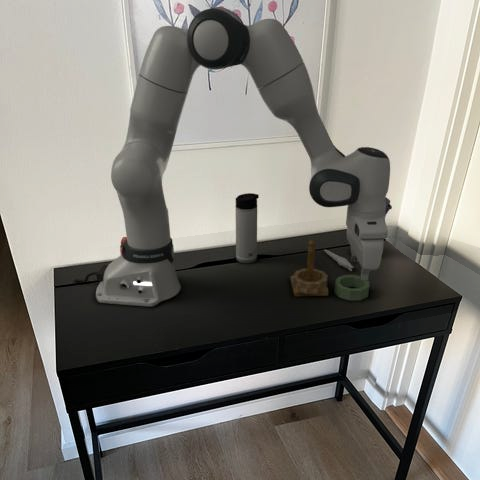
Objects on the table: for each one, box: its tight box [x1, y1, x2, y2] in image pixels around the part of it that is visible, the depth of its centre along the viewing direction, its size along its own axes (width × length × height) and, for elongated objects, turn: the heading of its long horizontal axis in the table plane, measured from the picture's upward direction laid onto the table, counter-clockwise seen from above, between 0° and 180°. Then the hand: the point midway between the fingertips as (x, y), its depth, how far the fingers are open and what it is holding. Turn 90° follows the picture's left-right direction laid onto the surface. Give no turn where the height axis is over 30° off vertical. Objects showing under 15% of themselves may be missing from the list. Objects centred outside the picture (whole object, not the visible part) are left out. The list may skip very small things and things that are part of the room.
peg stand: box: [289, 239, 330, 297], centre depth 137 cm, size 9×9×14 cm
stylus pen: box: [323, 248, 355, 272], centre depth 154 cm, size 15×3×2 cm, turn 25°
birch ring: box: [292, 268, 329, 294], centre depth 137 cm, size 9×9×3 cm
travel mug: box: [234, 192, 260, 264], centre depth 151 cm, size 6×7×20 cm
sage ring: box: [333, 274, 371, 302], centre depth 137 cm, size 9×9×3 cm
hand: (359, 270), depth 130 cm, fingers open, 8 cm apart
